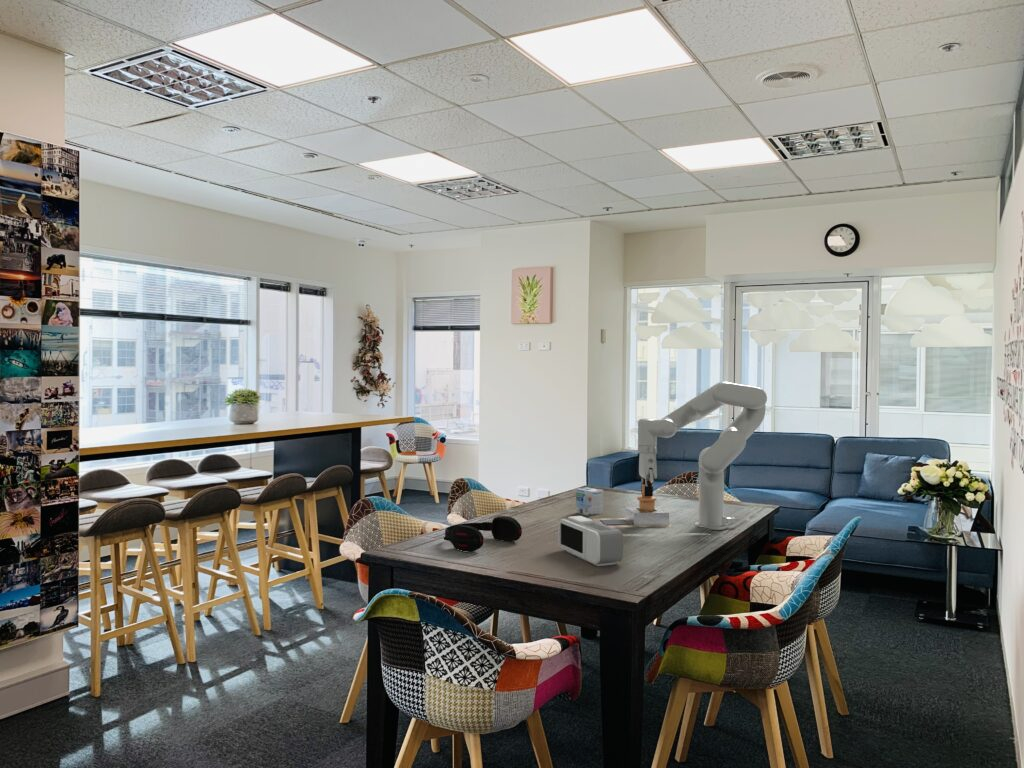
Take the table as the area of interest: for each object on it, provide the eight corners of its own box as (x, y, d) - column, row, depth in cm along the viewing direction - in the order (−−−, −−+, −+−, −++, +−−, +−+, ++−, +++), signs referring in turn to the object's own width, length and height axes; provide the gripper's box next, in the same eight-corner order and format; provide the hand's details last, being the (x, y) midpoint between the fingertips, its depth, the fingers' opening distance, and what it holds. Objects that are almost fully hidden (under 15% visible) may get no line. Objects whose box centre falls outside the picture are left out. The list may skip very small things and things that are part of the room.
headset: (507, 557, 256) (508, 531, 256) (432, 552, 262) (432, 526, 262) (526, 539, 283) (526, 516, 283) (457, 535, 289) (458, 512, 289)
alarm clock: (558, 550, 266) (558, 515, 266) (582, 548, 270) (582, 513, 270) (597, 569, 241) (597, 530, 241) (623, 566, 245) (623, 528, 245)
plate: (659, 520, 320) (659, 505, 320) (673, 529, 302) (673, 513, 302) (592, 521, 317) (592, 506, 317) (602, 530, 300) (602, 514, 299)
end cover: (653, 510, 315) (653, 483, 314) (659, 514, 307) (659, 486, 307) (635, 511, 314) (635, 483, 314) (640, 514, 306) (640, 486, 306)
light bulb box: (575, 513, 336) (575, 488, 336) (587, 511, 340) (587, 486, 340) (592, 516, 327) (592, 491, 327) (603, 515, 331) (604, 490, 331)
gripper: (662, 451, 302) (662, 498, 302) (650, 447, 319) (650, 492, 319) (643, 451, 301) (643, 498, 302) (632, 447, 318) (632, 492, 318)
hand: (647, 494), depth 310 cm, fingers closed on end cover, 4 cm apart
